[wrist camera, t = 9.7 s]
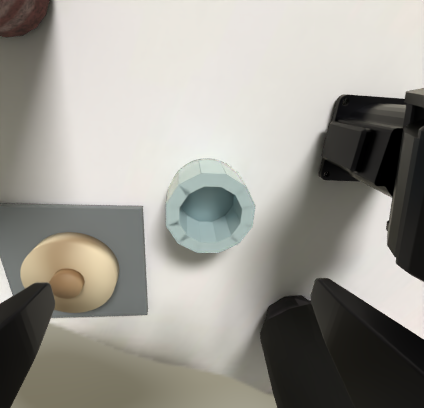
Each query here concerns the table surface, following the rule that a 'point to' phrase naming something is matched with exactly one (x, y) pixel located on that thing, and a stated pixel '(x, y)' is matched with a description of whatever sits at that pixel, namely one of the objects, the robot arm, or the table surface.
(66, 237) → the lid
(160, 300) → the table surface
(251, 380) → the table surface
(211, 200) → the bowl
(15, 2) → the can
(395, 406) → the robot arm
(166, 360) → the table surface
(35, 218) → the mat
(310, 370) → the portable speaker
